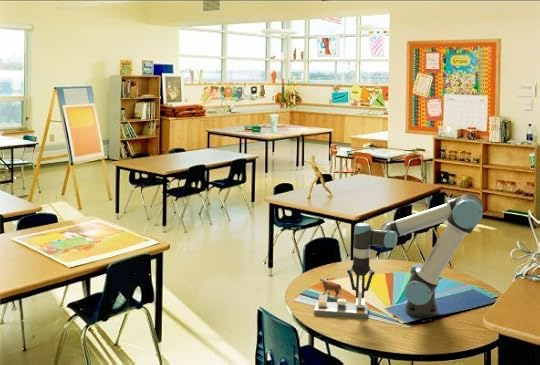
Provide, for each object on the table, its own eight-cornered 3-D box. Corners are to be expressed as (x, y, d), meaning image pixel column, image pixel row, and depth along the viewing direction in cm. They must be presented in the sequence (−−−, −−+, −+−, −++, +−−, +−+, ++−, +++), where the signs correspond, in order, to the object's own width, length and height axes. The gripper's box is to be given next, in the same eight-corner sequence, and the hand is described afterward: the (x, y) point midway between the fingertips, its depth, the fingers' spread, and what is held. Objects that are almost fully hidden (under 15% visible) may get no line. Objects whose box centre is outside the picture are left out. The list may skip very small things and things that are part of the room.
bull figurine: (323, 290, 311) (323, 275, 309) (342, 297, 301) (342, 282, 300) (317, 292, 308) (317, 277, 306) (337, 299, 298) (337, 284, 297)
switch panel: (367, 308, 287) (367, 301, 287) (367, 318, 276) (367, 311, 276) (316, 304, 292) (316, 298, 291) (314, 314, 281) (314, 307, 280)
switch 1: (327, 296, 289) (327, 294, 288) (326, 306, 283) (326, 304, 282) (319, 296, 289) (319, 294, 288) (318, 306, 283) (318, 304, 283)
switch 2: (364, 301, 286) (364, 298, 285) (364, 307, 279) (364, 305, 279) (356, 300, 286) (356, 298, 286) (355, 307, 280) (355, 304, 279)
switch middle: (346, 301, 287) (346, 299, 287) (345, 304, 280) (345, 302, 280) (337, 301, 288) (337, 298, 288) (336, 304, 281) (336, 301, 281)
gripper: (375, 254, 277) (373, 302, 282) (347, 253, 280) (346, 300, 284) (375, 259, 270) (373, 308, 274) (346, 257, 272) (345, 306, 277)
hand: (359, 304), depth 279 cm, fingers closed
